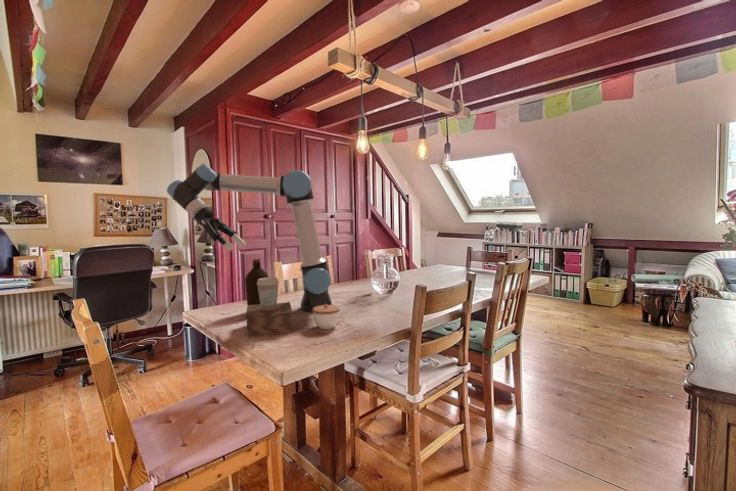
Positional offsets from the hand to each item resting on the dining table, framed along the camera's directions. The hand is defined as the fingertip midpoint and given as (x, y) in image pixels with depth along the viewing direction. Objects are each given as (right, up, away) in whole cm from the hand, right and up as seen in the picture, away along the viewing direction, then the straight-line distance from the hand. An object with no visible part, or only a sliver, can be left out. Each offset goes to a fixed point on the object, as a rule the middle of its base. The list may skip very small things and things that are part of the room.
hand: (238, 247), depth 149 cm
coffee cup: (+15, -24, -7) cm, 29 cm away
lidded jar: (+37, -32, -5) cm, 50 cm away
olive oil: (+3, -30, +18) cm, 35 cm away
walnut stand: (+15, -32, -6) cm, 36 cm away
